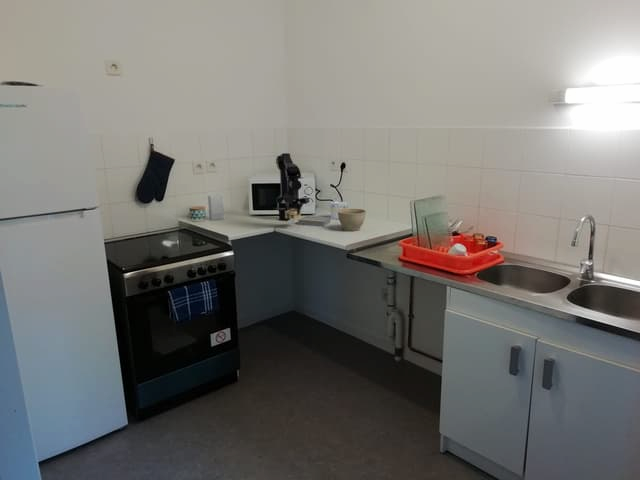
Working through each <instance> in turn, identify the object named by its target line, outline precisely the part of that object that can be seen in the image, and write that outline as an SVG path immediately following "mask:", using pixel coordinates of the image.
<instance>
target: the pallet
mask: <svg viewBox="0 0 640 480" xmlns="http://www.w3.org/2000/svg"><path fill="white" fill-rule="evenodd" d="M301 214H302V209H301V210H300V213H299V215H297V208H292V209H290V210H287V211H285V218H286V219H287V218H289V219H290V220H292V219H293V220H296V219H297V218H298V219H299V217H301Z"/></svg>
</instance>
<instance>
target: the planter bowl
mask: <svg viewBox="0 0 640 480" xmlns="http://www.w3.org/2000/svg"><path fill="white" fill-rule="evenodd" d="M366 214H367V211H366V210H365V209H362V208H347V209H341V210H338V217H339V219H338V221H339V222H340V225H341V226H342V227H343V230H344V231H347V232H348V231H349V232H353V231H354V232H355V231H356V232H357V231H359V230H361V227H362V226H363V224H364V222H365V219H366Z"/></svg>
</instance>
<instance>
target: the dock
mask: <svg viewBox="0 0 640 480" xmlns="http://www.w3.org/2000/svg"><path fill="white" fill-rule="evenodd" d="M330 223H331V216H330V217H329V216H328V217H327V216H316V215H315V216H313V215H311V216H310V215H304V216H303V217H301V218H298V225H299V226H312V227H313V226H314V227H325V226H326V225H328V224H330Z"/></svg>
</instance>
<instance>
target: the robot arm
mask: <svg viewBox="0 0 640 480" xmlns="http://www.w3.org/2000/svg"><path fill="white" fill-rule="evenodd" d="M275 164H276V167H277V169H278V170H279V177H280V180H279V181H280V195H279V196H278V197H276V199H275V202H276V203H277V204H276V210H277V211H278V219H277V220H278V221H289V220H291V219H289V218H287V219H286V218H285V211H287V210H290V209H293V202H297V203H296V205H297V208H296V209H297V215H299V213H300V210H301V211H302V207H303V205H306V204H307V205H308V204H309V203H310V198H309V197H307V196H306V197H304V196H303V197H301V198H299V196H298V193H299V192H298V191H300V190H301V188H302V182H301V181H300V180H299V179H301V178H302V173H301V169H300V168H299V166H298V165H297V164H295V163H294V162H293V160H292V157H291V153H281V154H280V155H277V156H276V158H275Z"/></svg>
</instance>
